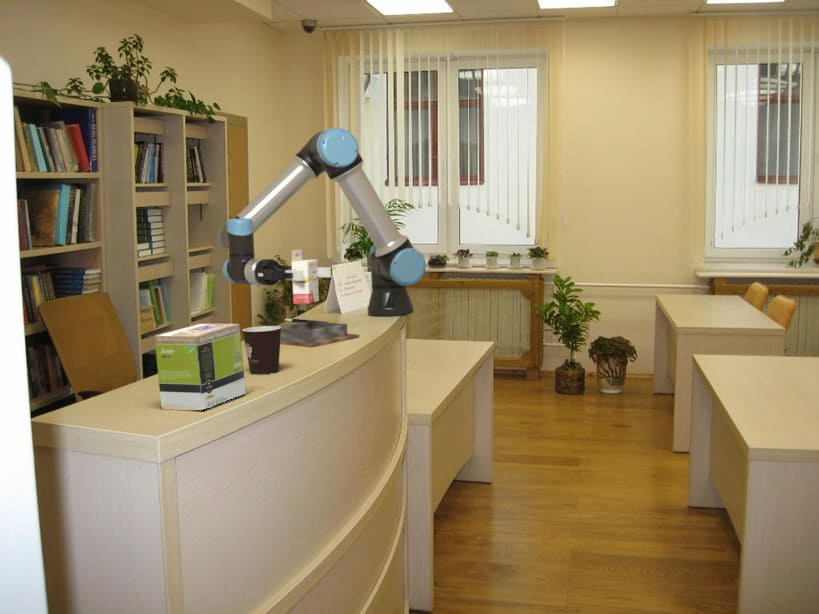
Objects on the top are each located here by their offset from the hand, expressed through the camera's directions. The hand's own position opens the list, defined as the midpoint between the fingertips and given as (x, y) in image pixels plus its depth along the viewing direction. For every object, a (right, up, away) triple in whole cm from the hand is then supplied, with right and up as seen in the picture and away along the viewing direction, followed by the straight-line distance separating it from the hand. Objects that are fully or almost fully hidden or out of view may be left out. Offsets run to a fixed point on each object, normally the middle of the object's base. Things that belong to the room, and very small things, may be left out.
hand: (316, 274), depth 254 cm
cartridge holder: (-2, -18, +4) cm, 19 cm away
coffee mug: (-8, -24, -41) cm, 48 cm away
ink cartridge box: (-3, -8, +4) cm, 9 cm away
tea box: (-15, -28, -72) cm, 79 cm away
